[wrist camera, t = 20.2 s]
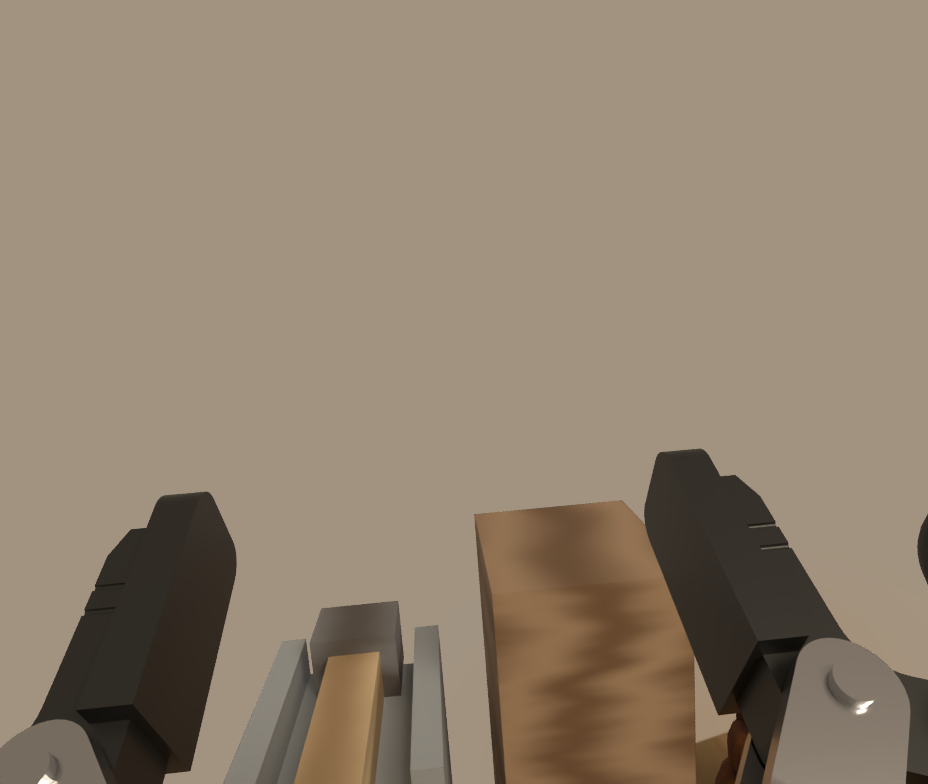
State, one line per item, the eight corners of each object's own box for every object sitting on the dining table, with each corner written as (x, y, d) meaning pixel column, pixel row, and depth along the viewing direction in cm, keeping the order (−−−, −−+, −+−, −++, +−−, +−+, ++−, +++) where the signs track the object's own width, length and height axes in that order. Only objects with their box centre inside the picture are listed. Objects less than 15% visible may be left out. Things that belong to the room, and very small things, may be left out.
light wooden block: (403, 656, 40) (398, 600, 40) (380, 999, 21) (368, 899, 20) (328, 664, 40) (321, 608, 40) (232, 1018, 21) (215, 919, 20)
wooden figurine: (703, 827, 50) (700, 660, 47) (769, 815, 50) (770, 650, 48) (750, 908, 43) (750, 719, 41) (826, 894, 44) (830, 707, 41)
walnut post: (635, 880, 46) (621, 500, 41) (700, 1062, 35) (692, 574, 30) (503, 897, 45) (474, 514, 40) (528, 1087, 34) (492, 594, 30)
